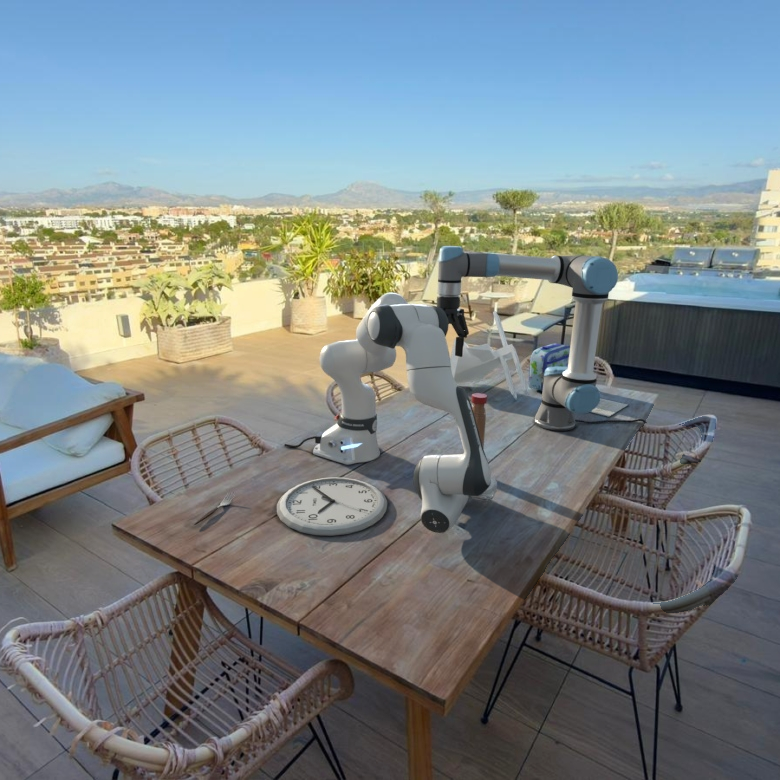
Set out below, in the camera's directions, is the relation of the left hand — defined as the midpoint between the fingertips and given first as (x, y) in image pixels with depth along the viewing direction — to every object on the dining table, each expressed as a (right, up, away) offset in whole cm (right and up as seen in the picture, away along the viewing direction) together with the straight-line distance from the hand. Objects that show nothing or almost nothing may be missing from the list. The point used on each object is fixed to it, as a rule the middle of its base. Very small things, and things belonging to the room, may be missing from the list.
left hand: (465, 470), depth 150 cm
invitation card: (+70, +16, +77) cm, 105 cm away
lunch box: (+55, +24, +102) cm, 118 cm away
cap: (+5, +21, +4) cm, 22 cm away
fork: (-68, -9, -11) cm, 70 cm away
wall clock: (-37, -8, -7) cm, 39 cm away
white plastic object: (+20, +22, +94) cm, 98 cm away
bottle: (+4, -3, +12) cm, 13 cm away
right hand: (-3, +34, +26) cm, 43 cm away
